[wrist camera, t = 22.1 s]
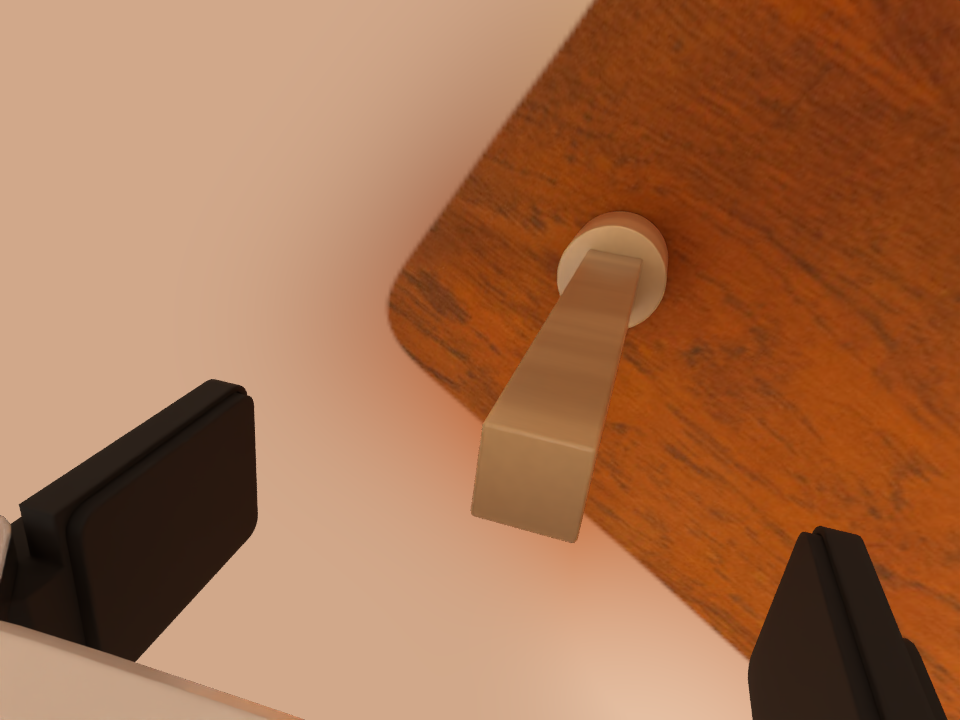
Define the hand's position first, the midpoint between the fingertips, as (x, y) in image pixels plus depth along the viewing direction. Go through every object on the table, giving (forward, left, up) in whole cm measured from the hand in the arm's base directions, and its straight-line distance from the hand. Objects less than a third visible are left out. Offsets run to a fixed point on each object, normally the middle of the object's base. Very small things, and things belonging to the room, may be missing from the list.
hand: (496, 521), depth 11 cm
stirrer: (-1, 0, -16) cm, 16 cm away
